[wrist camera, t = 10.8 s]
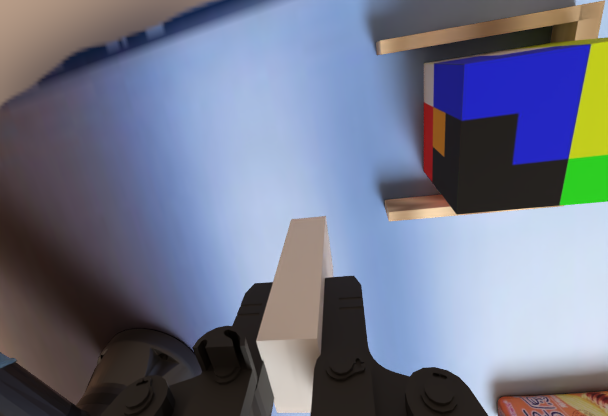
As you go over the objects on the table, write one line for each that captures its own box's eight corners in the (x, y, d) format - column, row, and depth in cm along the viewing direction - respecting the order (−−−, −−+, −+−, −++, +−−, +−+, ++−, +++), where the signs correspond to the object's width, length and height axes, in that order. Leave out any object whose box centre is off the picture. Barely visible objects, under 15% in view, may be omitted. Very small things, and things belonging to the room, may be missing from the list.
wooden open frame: (385, 208, 34) (389, 221, 31) (376, 42, 27) (380, 40, 24) (544, 193, 31) (563, 205, 28) (576, 7, 25) (605, 0, 22)
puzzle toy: (423, 63, 28) (464, 64, 19) (549, 42, 26) (660, 33, 17) (423, 170, 32) (456, 214, 23) (532, 158, 30) (614, 200, 21)
